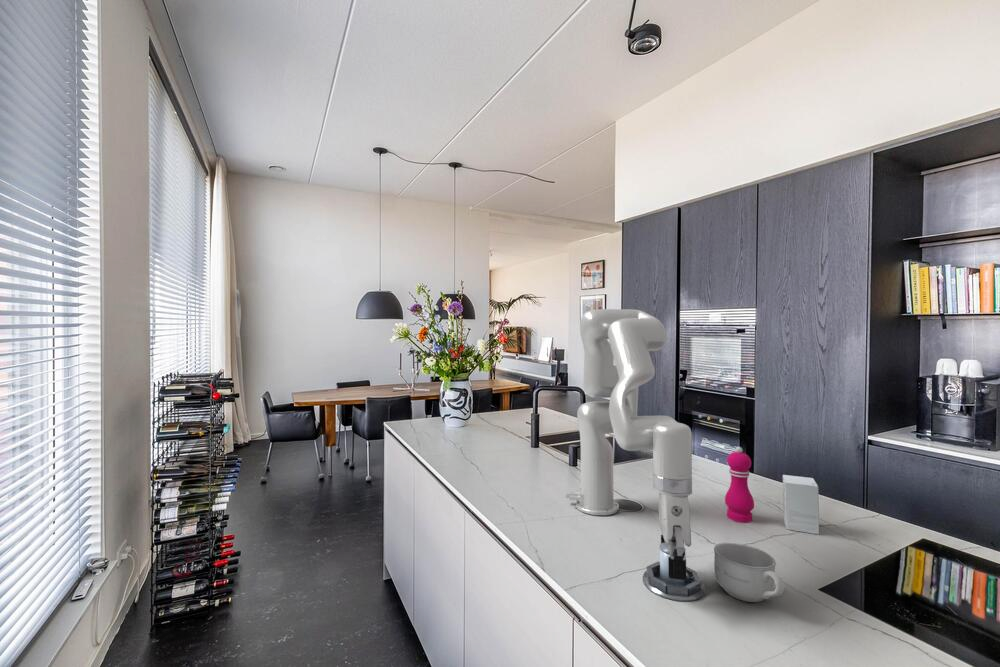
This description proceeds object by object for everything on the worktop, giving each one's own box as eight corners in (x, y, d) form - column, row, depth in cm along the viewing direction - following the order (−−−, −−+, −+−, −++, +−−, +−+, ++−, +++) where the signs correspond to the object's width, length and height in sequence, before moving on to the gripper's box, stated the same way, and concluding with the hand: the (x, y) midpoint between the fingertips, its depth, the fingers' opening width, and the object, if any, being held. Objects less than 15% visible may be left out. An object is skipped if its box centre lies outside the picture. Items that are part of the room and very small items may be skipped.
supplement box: (814, 524, 119) (814, 477, 119) (819, 535, 113) (819, 486, 113) (782, 519, 123) (782, 473, 123) (785, 529, 116) (784, 481, 116)
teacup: (703, 579, 93) (703, 541, 93) (752, 576, 94) (752, 539, 94) (745, 622, 79) (745, 578, 79) (802, 618, 80) (802, 574, 80)
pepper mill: (758, 524, 119) (757, 450, 119) (729, 522, 121) (729, 449, 121) (749, 513, 126) (748, 444, 126) (721, 512, 128) (721, 443, 128)
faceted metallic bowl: (646, 597, 87) (646, 587, 87) (639, 566, 98) (639, 557, 98) (711, 604, 84) (711, 594, 84) (697, 571, 96) (697, 562, 96)
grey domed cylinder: (688, 589, 89) (687, 554, 89) (661, 586, 90) (661, 552, 90) (683, 576, 93) (682, 543, 93) (658, 573, 95) (658, 541, 95)
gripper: (701, 499, 82) (702, 591, 82) (683, 471, 99) (683, 547, 99) (659, 497, 84) (660, 587, 84) (648, 469, 101) (648, 544, 101)
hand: (672, 565), depth 91 cm, fingers open, 9 cm apart
